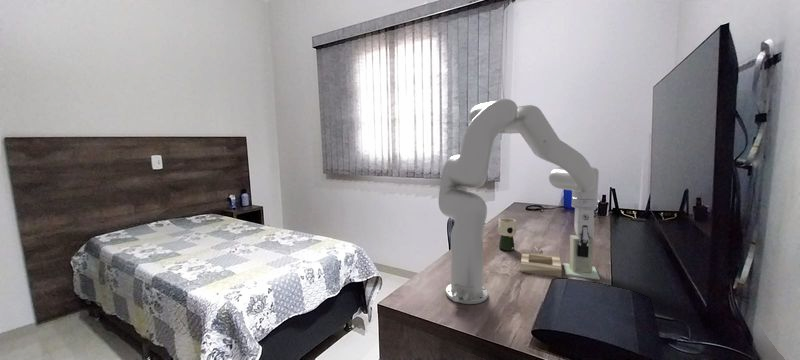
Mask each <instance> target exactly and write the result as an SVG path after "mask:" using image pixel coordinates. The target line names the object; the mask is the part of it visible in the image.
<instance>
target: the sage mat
mask: <svg viewBox="0 0 800 360" xmlns="http://www.w3.org/2000/svg"><path fill="white" fill-rule="evenodd" d="M569 264H570V263H567V262H566V263H565V262H563V268H564V269H563V270H564V272H565V273H564V274H565V276H571V277H576V278H577V277H578V278H585V279H590V280H591V279H592V280H599V281H600V279H601V277H600V276H599V273H598V270H597V269H596V267H595V266H592V272H573V271H572V270H571V268H570V267H569Z"/></svg>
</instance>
